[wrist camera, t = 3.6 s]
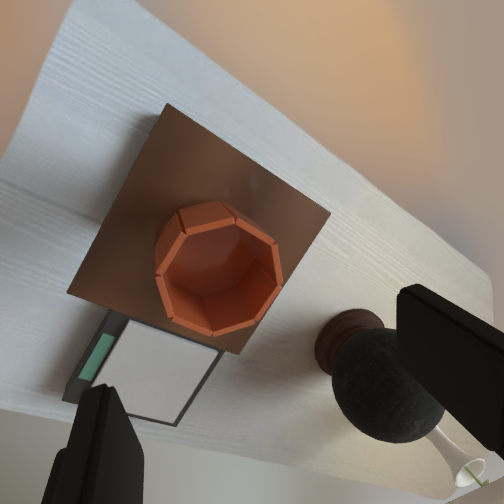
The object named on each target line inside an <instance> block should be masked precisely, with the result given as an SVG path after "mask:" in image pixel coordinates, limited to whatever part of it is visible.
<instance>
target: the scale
mask: <svg viewBox="0 0 504 504" xmlns="http://www.w3.org/2000/svg"><path fill="white" fill-rule="evenodd" d="M224 352H225V350H222V349H219V348H217V347H214V346H211V345H208V344H206V343H203V342H200V341H197V340H195V339H192V338H189V337H186V336H184V335H181V334H178V333H175V332H173V331H170V330H167V329H164V328H161V327H159V326H156V325H153V324H150V323H148V322H145V321H142V320H139V319H137V318H134V317H131V316H128V315H126V314H123V313H120V312H117V311H114V310H112V309H109V311H108V312H107V314H106V316H105V318H104V320H103V321H102V323H101V325H100V327H99V328H98V330H97V332H96V334H95V336H94V337H93V339H92V341H91V343H90V344H89V346H88V348H87V350H86V352H85V353H84V355H83V357H82V359H81V361H80V362H79V364H78V366H77V368H76V369H75V371H74V373H73V375H72V377H71V378H70V380H69V382H68V384H67V386H66V389H65V392H64V395H63V398H62V401H65V402H70V403H74V404H78V405H79V401H80V398H81V394H82V392H83V390H84V389H87V388H91V387H94V386H97V385H100V384H103V383H106V384H107V386H108V387H111V386H114V387H115V388H116V391H117V393H118V395H119V397H120V400H121V402H122V404H123V406H124V408H125V411H126V413H127V415H128V416H130V417H135V418H139V419H143V420H148V421H152V422H156V423H160V424H165V425H169V426H173V427H176V426H177V425H178V423H179V422H180V420H181V419H182V417H183V416H184V414H185V412H186V411H187V409H188V408H189V406H190V405H191V403H192V402H193V400H194V398H195V397H196V395H197V394H198V392H199V391H200V389H201V388H202V386H203V385H204V383H205V381H206V380H207V378H208V377H209V375H210V374H211V372H212V371H213V369H214V367H215V366H216V364H217V363H218V361H219V360H220V358H221V357H222V355H223V353H224Z"/></svg>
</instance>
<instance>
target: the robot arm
mask: <svg viewBox="0 0 504 504" xmlns="http://www.w3.org/2000/svg"><path fill="white" fill-rule="evenodd" d="M396 356H397V360H398V362H399V364H400V365H401V367H402V368H403V369H404V370H405V371H407V372H408V373H409V374H410V375H411V376H412V377H413V378H414V379H415V380H416V381H417V382H418V383H419V384H420V385H421V386H422V387H423V388H424V389H425V390H426V391H427V392H428V393H429V394H430V395H431V396H432V397H433V398H434V399H435V400H437V401H438V402H439V403H440V404H441V405H442V406H443V407H444V408H445V409H446V410H447V411H448V412H449V413H450V414H451V415H452V416H453V417H454V418H455V419H456V420H457V421H458V422H459V423H460V424H461V425H462V426H463V427H464V428H465V429H467V430H468V431H469V432H470V433H471V434H472V435H473V436H474V437H475V438H476V439H477V440H478V441H479V442H480V443H481V444H482V445H483V446H484V447H485V448H487V449H488V450H490V451H495V452H496V453H497V454H498V455H499V456H500V457H501V458H502V459H503V460H504V333H503V332H501V331H500V330H498V329H496V328H494V327H493V326H491V325H489V324H488V323H486V322H484V321H483V320H481V319H479V318H477V317H476V316H474V315H472V314H471V313H469V312H467V311H465V310H464V309H462V308H460V307H459V306H457V305H455V304H453V303H452V302H450V301H448V300H447V299H445V298H443V297H442V296H440V295H438V294H436V293H435V292H433V291H431V290H430V289H428V288H426V287H424V286H423V285H421V284H414V285H411V286H408V287H404V288H402V289H401V290H400V293H399V294H398V295H397V306H396ZM143 482H144V454H143V450H142V447H141V444H140V443H139V440H138V438H137V435H136V433H135V431H134V429H133V426H132V424H131V422H130V420H129V417H128V415H127V413H126V411H125V408H124V406H123V404H122V402H121V400H120V397H119V395H118V393H117V391H116V388H115V387H114V386H111V387H108V386H107V384H106V383H103V384H100V385H97V386H94V387H91V388H87V389H84V390H83V392H82V394H81V398H80V401H79V405H78V408H77V412H76V416H75V419H74V423H73V426H72V430H71V433H70V437H69V441H68V444H67V447H66V448H63V449H61V450H60V451H59V452H58V453H57V455H56V457H55V460H54V463H53V467H52V470H51V473H50V476H49V479H48V483H47V486H46V489H45V492H44V496H43V499H42V502H41V504H143ZM446 504H504V477H502V478H500V479H498V480H496V481H493V482H491V483H489V484H487V485H485V486H482V487H480V488H478V489H476V490H474V491H472V492H470V493H467V494H465V495H463V496H461V497H459V498H457V499H455V500H452V501H450V502H448V503H446Z"/></svg>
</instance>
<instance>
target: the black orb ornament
mask: <svg viewBox="0 0 504 504" xmlns="http://www.w3.org/2000/svg"><path fill="white" fill-rule="evenodd" d="M315 358H316V361H317V363H318V365H319V366H320V368H321V369H322V370H323V371H324V372H325V373H327V374H329V375H331V376H332V387H333V392H334V395H335V399H336V401H337V403H338V405H339V407H340V408H341V410H342V412H343V414H344V415H345V416H346V417H347V419H348V420H349V421H350V422H351V423H352V424H353V425H354V426H355V427H356V428H358V429H359V430H360V431H361V432H363V433H365V434H366V435H368V436H370V437H372V438H374V439H377V440H380V441H385V442H390V443H395V444H396V443H407V442H412V441H415V440H418V439H420V438H422V437H424V436H425V435H427V434H428V433H430V432H431V431H432V430H433V429H434V428H435V427H436V425H437V424H438V423H439V421H440V420H441V419H442V417H443V414H444V411H445V408H444V407H443V406H442V405H441V404H440V403H439V402H438V401H437V400H435V399H434V398H433V397H432V396H431V395H430V394H429V393H428V392H427V391H426V390H425V389H424V388H423V387H422V386H421V385H420V384H419V383H418V382H417V381H416V380H415V379H414V378H413V377H412V376H411V375H410V374H409V373H408V372H407V371H405V370H404V369H403V368H402V367H401V365H400V364H399V362H398V360H397V356H396V330H395V329H389V328H385V327H384V324H383V322H382V321H381V319H380V318H379V317H378V316H376V315H375V314H374V313H373V312H371V311H369V310H365V309H352V310H348V311H345V312H343V313H341V314H339V315H337V316H336V317H334V318H333V319H332V320H331V321H329V322H328V323H327V324H326V325H325V327H324V328H323V329H322V331H321V332H320V334H319V336H318V338H317V341H316V344H315Z"/></svg>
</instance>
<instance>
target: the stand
mask: <svg viewBox="0 0 504 504" xmlns="http://www.w3.org/2000/svg"><path fill="white" fill-rule="evenodd" d="M216 200H218V201H219V202H220V203H221V201H223V202H225V203H226V204H228V205H229V206H231V207H233V208H235V209H237V210H238V211H239V212H241V213H242V214H244V215H245V216H247V217H248V218H250V219H252V220H253V221H254V222H255V223H256V224H257V225H258V226H260V227H261V228H262V229H263V230H264V231H265V232H266V233H267V234H268V235H270V236H271V237H272V238H273V239H274V240H275V241H274V242H275V243H277V246H278V252H279V259H280V266H281V272H282V279H283V284H280V285H281V287H282V288H283V287H284V285H285V284H286V282H287V281H288V279H289V278H290V276H291V274H292V273H293V271H294V270H295V268H296V267H297V265H298V264H299V262H300V261H301V259H302V258H303V256H304V255H305V253H306V252H307V250H308V248H309V247H310V245H311V244H312V242H313V241H314V239H315V238H316V236H317V235H318V233H319V232H320V230H321V229H322V227H323V226H324V224H325V223H326V221H327V219H328V218H329V216H330V215H331V212H329V211H328V210H326V209H325V208H323V207H322V206H320V205H319V204H317V203H316V202H314V201H313V200H311V199H310V198H308V197H307V196H305V195H304V194H302V193H301V192H299V191H298V190H296V189H295V188H293V187H292V186H290V185H289V184H287V183H286V182H285V181H283V180H282V179H280V178H279V177H277V176H276V175H274V174H273V173H271V172H270V171H268V170H267V169H265V168H264V167H262V166H261V165H259V164H258V163H256V162H255V161H253V160H252V159H250V158H249V157H247V156H246V155H244V154H243V153H241V152H240V151H238V150H237V149H235V148H234V147H232V146H231V145H229V144H228V143H226V142H225V141H224V140H222V139H221V138H219V137H218V136H216V135H215V134H213V133H212V132H210V131H209V130H207V129H206V128H204V127H203V126H201V125H200V124H198V123H197V122H195V121H194V120H192V119H191V118H189V117H188V116H186V115H185V114H183V113H182V112H180V111H179V110H177V109H176V108H174V107H173V106H171V105H170V104H168V103H167V104H166V105H165V107H164V109H163V111H162V113H161V114H160V115H159V117H158V119H157V121H156V123H155V125H154V127H153V129H152V131H151V132H150V134H149V136H148V138H147V140H146V142H145V144H144V146H143V147H142V149H141V151H140V153H139V155H138V157H137V159H136V161H135V163H134V164H133V166H132V168H131V170H130V172H129V174H128V176H127V178H126V180H125V181H124V183H123V185H122V187H121V189H120V191H119V193H118V195H117V197H116V198H115V200H114V202H113V204H112V206H111V208H110V210H109V212H108V214H107V215H106V217H105V219H104V221H103V223H102V226H101V228H100V230H99V232H98V233H97V235H96V237H95V239H94V241H93V243H92V245H91V247H90V249H89V250H88V252H87V254H86V256H85V258H84V260H83V262H82V264H81V266H80V267H79V269H78V271H77V273H76V275H75V277H74V279H73V281H72V283H71V284H70V286H69V288H68V290H67V293H68V294H70V295H73V296H76V297H79V298H81V299H84V300H87V301H90V302H92V303H95V304H98V305H101V306H103V307H106V308H109V309H112V310H114V311H117V312H120V313H123V314H126V315H128V316H131V317H134V318H137V319H139V320H142V321H145V322H148V323H150V324H153V325H156V326H159V327H161V328H164V329H167V330H170V331H173V332H175V333H178V334H181V335H184V336H186V337H189V338H192V339H195V340H197V341H200V342H203V343H206V344H208V345H211V346H214V347H217V348H219V349H222V350H225V351H228V352H231V353H233V354H236V355H239V354H240V352H241V351H242V349H243V348H244V346H245V345H246V343H247V342H248V340H249V339H250V337H251V336H252V334H253V333H254V331H255V330H256V328H257V326H258V325H259V323H260V322H261V320H262V319H263V317H264V316H265V314H266V313H267V311H268V310H269V308H270V307H271V305H272V304H273V302H274V300H275V299H276V297H277V296H278V294H279V293H280V291H281V290H282V288H281V290H280V291H279V293H278V294H277V296H276V297H275V298H274V300H273V301H272V303H271V304H270V306H269V307H268V308H267V310H266V311H265V313H264V314H263V316H262V317H261V318H260V320H259V321H256V320H254V321H255V324H254V325H250V326H247V327H244V328H241V329H238V330H235V331H232V332H228V333H225V334H222V335H219V336H216V337H214V336H213V333H212V335H211V336H210V337H208V336H206V335H204V334H201V333H199V332H196V331H194V330H192V329H189V328H187V327H184V326H182V325H180V324H177V323H175V322H172V321H171V317H170V318H168V317H167V314H166V311H165V308H164V304H163V301H162V298H161V295H160V292H159V289H158V286H157V283H156V280H155V262H154V249H155V244H156V242H157V241H158V239H159V237H160V235H161V232H162V230H163V228H164V227H165V225H166V224H167V222H168V221H169V220H170V219H171V218H172V216H173V215H174V213H175V212H179V209H183V208H185V207H188V206H190V205H193V204H196V203H201V202H212V201H216Z"/></svg>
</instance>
